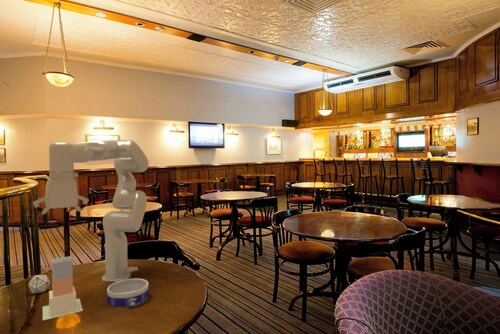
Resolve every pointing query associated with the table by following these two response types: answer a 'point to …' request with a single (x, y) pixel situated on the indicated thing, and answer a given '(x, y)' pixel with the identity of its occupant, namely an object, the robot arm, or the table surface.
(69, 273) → the slate brick
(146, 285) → the dog bowl
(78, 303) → the plate
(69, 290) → the terracotta brick
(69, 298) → the base brick
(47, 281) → the game die
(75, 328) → the table surface
